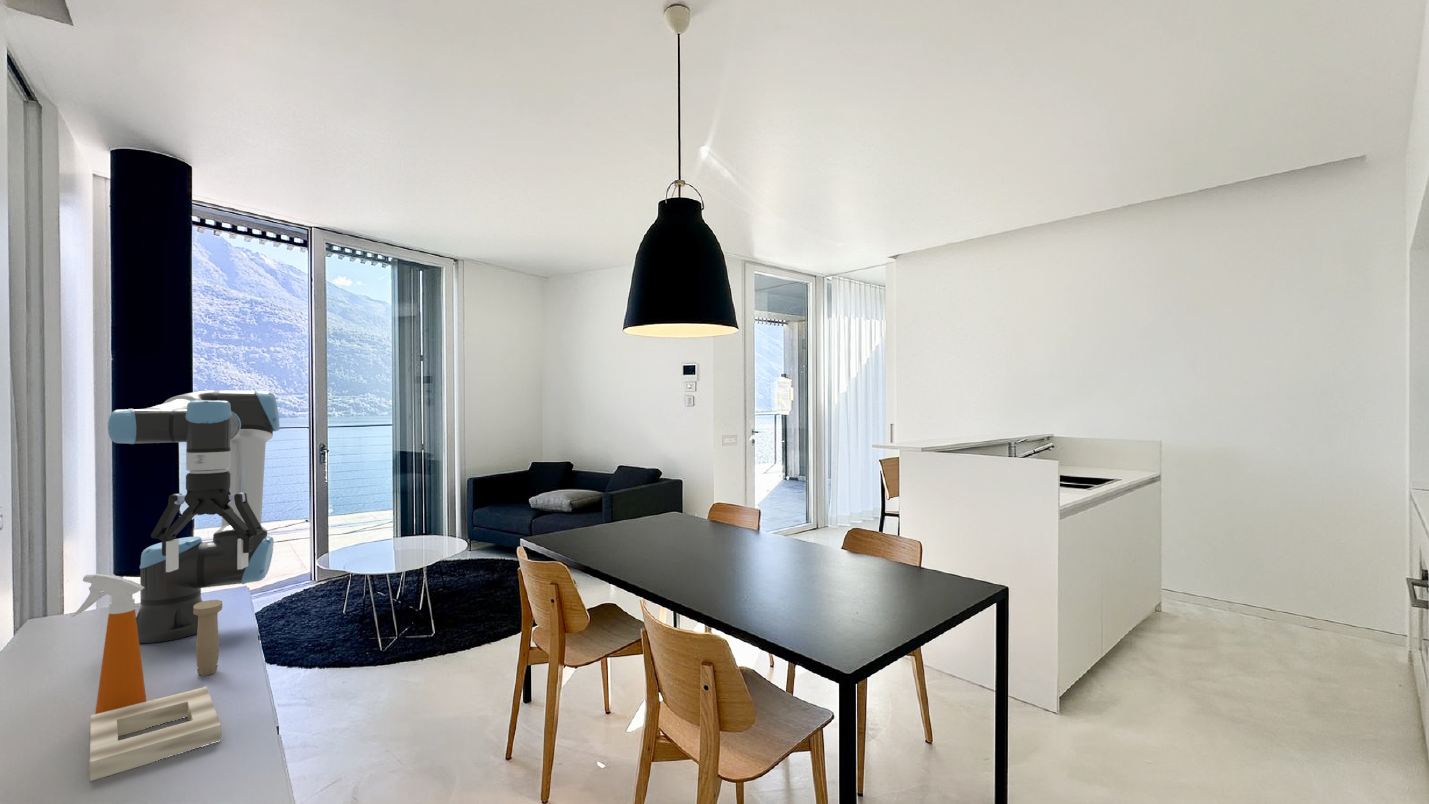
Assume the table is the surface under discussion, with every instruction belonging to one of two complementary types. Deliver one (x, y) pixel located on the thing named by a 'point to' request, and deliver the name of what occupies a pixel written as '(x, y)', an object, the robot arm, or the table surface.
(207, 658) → the handle
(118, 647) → the spray bottle
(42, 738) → the table surface
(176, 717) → the board
